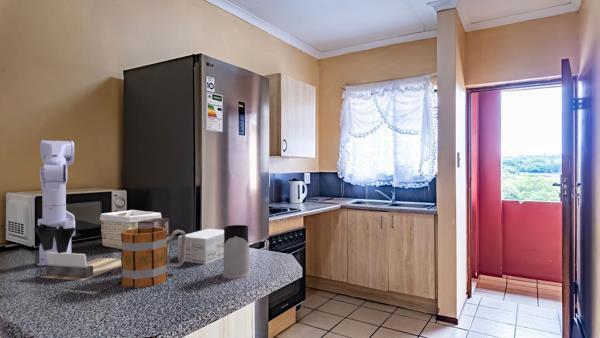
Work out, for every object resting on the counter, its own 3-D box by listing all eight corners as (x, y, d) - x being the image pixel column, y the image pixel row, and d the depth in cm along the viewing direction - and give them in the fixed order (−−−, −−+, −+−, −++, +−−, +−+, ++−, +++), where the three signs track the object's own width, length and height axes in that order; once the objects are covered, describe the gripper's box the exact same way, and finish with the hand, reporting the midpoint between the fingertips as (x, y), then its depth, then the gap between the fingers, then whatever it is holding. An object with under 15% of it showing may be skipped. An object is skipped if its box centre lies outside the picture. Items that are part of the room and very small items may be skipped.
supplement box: (207, 251, 144) (207, 228, 144) (234, 254, 138) (234, 230, 138) (177, 261, 129) (177, 235, 129) (205, 264, 123) (205, 238, 123)
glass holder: (221, 279, 106) (220, 229, 106) (224, 266, 120) (223, 222, 120) (250, 277, 107) (250, 228, 107) (250, 265, 121) (249, 221, 121)
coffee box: (154, 262, 127) (153, 217, 127) (170, 262, 125) (169, 218, 125) (137, 269, 118) (137, 221, 118) (154, 270, 116) (154, 221, 116)
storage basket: (98, 246, 155) (98, 212, 155) (133, 239, 169) (133, 209, 169) (127, 253, 142) (127, 216, 142) (163, 245, 155) (163, 212, 155)
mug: (128, 291, 96) (127, 236, 96) (114, 280, 106) (113, 230, 106) (195, 276, 109) (195, 228, 109) (177, 267, 119) (177, 223, 119)
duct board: (39, 279, 108) (39, 267, 108) (100, 259, 131) (100, 250, 131) (82, 282, 104) (82, 270, 104) (137, 261, 128) (137, 251, 128)
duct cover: (50, 265, 111) (48, 266, 110) (48, 251, 110) (46, 252, 109) (87, 267, 107) (85, 268, 107) (85, 253, 107) (83, 255, 106)
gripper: (82, 204, 104) (83, 250, 104) (55, 203, 111) (55, 246, 111) (57, 207, 98) (57, 256, 98) (29, 205, 105) (30, 251, 104)
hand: (54, 251), depth 104 cm, fingers open, 7 cm apart
